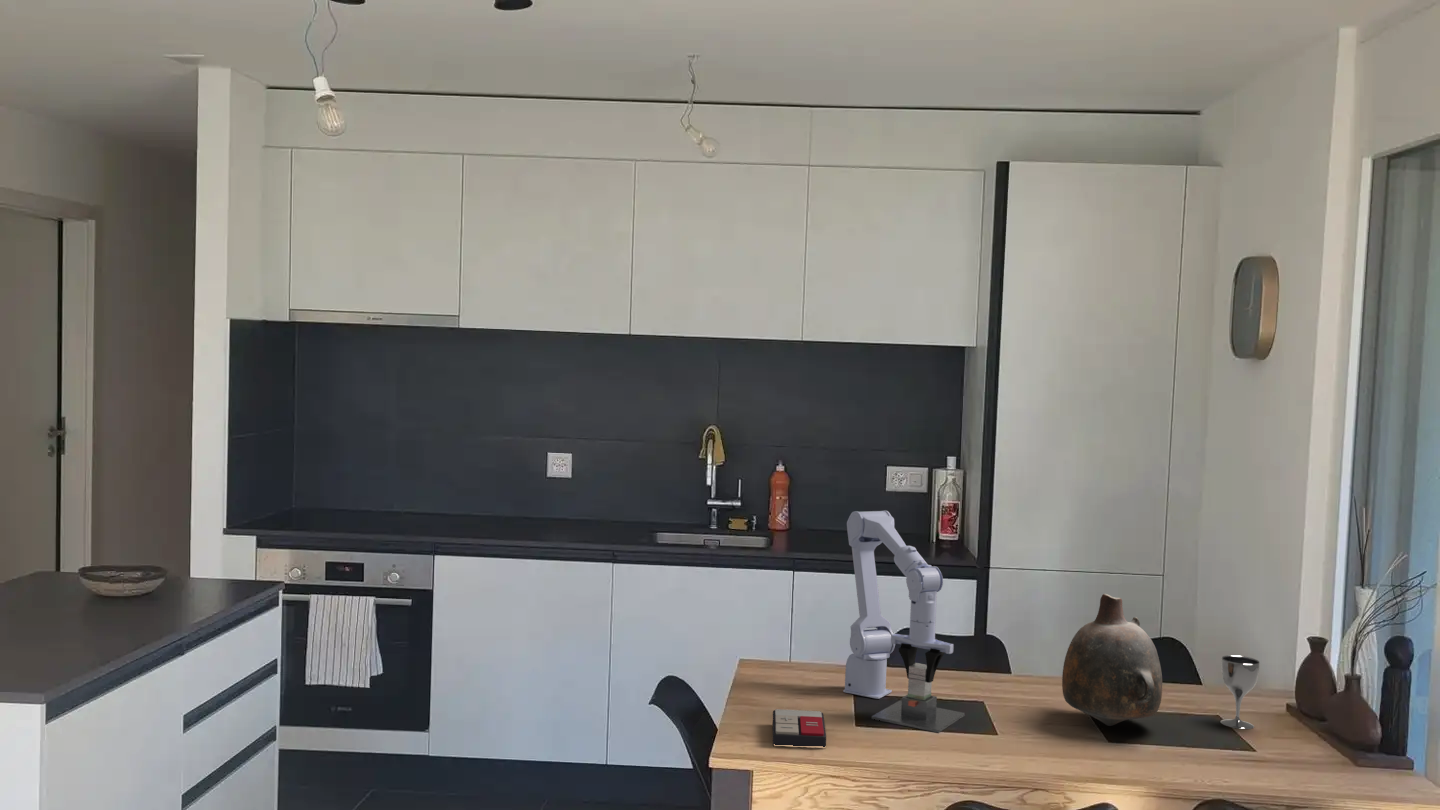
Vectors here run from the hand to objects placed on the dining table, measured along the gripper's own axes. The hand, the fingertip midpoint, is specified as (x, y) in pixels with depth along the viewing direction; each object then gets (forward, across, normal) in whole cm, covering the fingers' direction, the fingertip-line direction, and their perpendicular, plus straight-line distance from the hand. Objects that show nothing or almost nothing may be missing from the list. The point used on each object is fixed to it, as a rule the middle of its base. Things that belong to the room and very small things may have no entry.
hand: (920, 679), depth 273 cm
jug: (+9, -36, -24) cm, 44 cm away
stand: (+9, 0, 0) cm, 9 cm away
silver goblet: (+9, -59, -45) cm, 75 cm away
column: (+6, 0, 0) cm, 6 cm away
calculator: (+9, +14, +30) cm, 34 cm away
